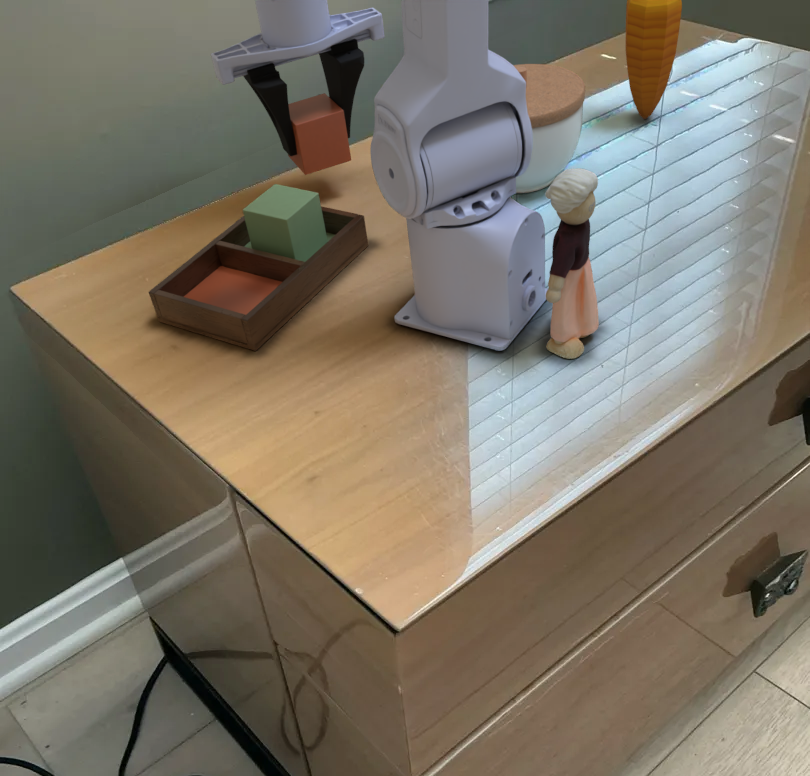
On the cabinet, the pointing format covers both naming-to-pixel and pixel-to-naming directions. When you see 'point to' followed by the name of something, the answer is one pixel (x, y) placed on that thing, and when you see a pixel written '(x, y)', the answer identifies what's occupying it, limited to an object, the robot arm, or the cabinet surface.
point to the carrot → (650, 49)
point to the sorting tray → (253, 282)
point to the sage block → (286, 222)
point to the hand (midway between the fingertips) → (317, 142)
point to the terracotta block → (319, 134)
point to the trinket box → (551, 122)
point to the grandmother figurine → (572, 263)
